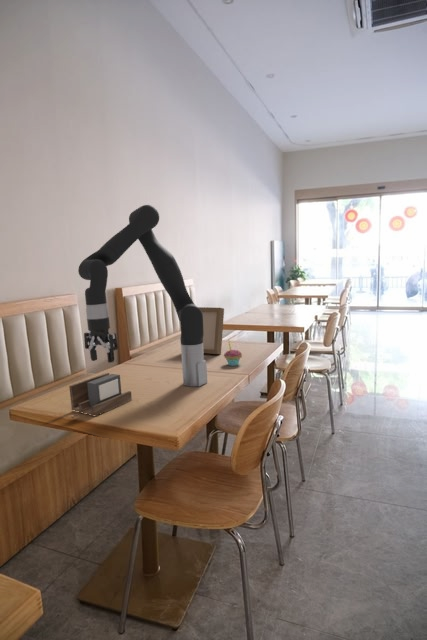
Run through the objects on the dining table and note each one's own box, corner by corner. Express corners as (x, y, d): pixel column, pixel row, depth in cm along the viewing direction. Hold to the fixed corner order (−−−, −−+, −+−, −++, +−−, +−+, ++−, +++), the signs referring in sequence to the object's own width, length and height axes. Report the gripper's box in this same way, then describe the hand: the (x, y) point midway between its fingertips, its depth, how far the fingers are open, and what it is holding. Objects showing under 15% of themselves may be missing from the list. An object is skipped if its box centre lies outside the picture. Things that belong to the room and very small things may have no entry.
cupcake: (222, 366, 201) (220, 341, 200) (228, 361, 209) (227, 338, 207) (239, 367, 198) (238, 342, 196) (244, 362, 206) (243, 338, 204)
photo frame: (216, 355, 222) (214, 308, 219) (183, 353, 234) (180, 308, 231) (230, 350, 235) (228, 305, 232) (198, 347, 246) (195, 305, 243)
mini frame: (122, 398, 158) (120, 374, 156) (98, 408, 148) (95, 384, 146) (114, 396, 160) (112, 373, 159) (89, 407, 150) (87, 382, 149)
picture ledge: (131, 400, 159) (129, 376, 158) (95, 416, 144) (92, 390, 143) (109, 396, 166) (107, 372, 164) (72, 411, 151) (69, 385, 149)
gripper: (120, 315, 148) (124, 360, 150) (92, 314, 156) (96, 357, 158) (104, 318, 142) (109, 365, 144) (75, 317, 149) (80, 362, 152)
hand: (102, 361), depth 151 cm, fingers open, 8 cm apart
